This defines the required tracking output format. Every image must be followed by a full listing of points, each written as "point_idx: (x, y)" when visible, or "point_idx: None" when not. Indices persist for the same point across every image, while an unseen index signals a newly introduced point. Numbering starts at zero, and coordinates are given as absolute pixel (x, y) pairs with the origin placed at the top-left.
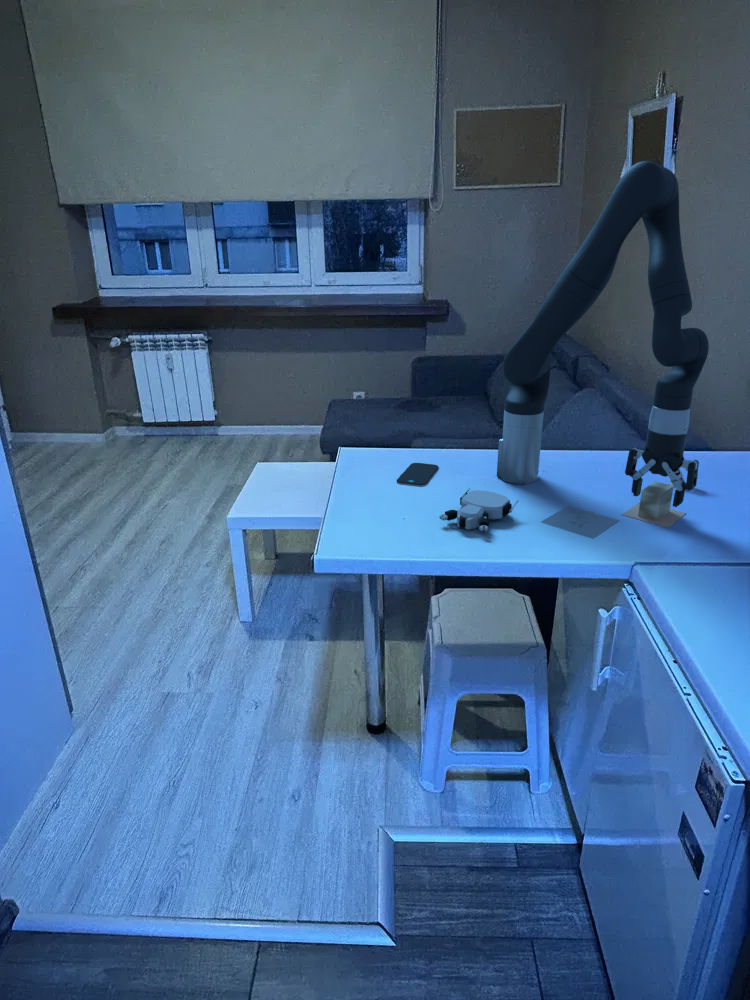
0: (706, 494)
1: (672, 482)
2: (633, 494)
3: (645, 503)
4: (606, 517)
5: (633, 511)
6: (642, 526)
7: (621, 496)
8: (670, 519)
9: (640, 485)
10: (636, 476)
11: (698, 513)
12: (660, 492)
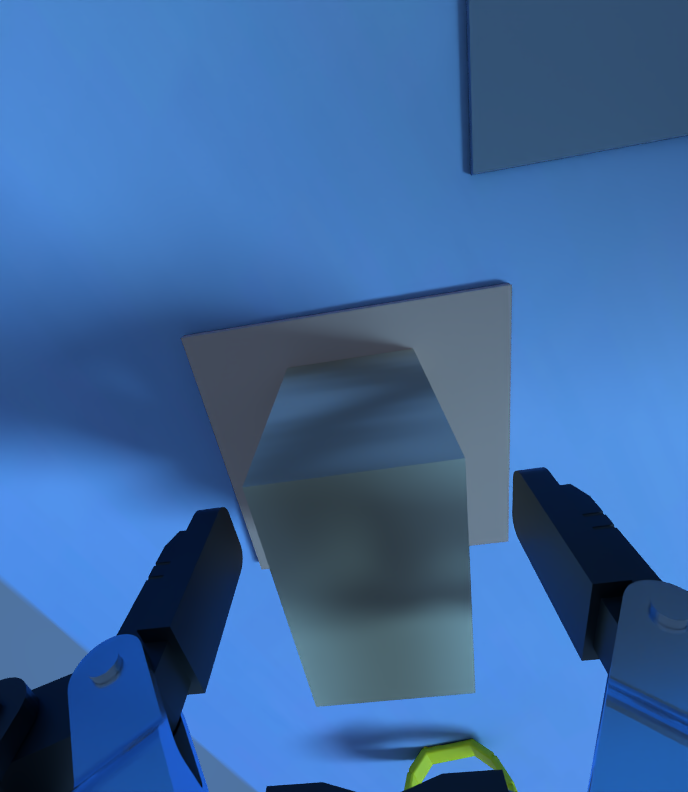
0: (340, 745)
1: (487, 754)
2: (546, 470)
3: (384, 399)
4: (583, 130)
5: (472, 390)
6: (305, 234)
7: (628, 529)
8: (254, 451)
9: (551, 577)
10: (666, 631)
11: (237, 604)
12: (289, 538)
